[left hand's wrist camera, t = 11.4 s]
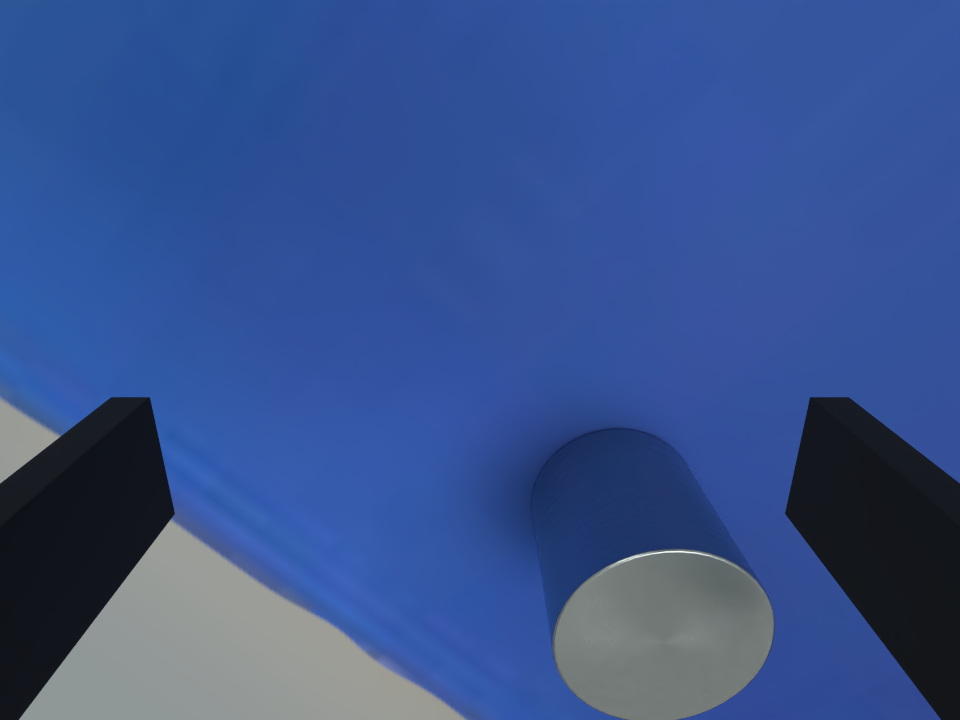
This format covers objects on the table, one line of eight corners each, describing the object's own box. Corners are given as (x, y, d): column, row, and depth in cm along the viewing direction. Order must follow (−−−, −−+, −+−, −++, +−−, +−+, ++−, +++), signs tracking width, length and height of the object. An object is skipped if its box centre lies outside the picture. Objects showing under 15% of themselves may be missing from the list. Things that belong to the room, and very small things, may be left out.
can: (642, 397, 27) (711, 510, 19) (721, 517, 29) (812, 662, 21) (499, 483, 29) (509, 620, 21) (585, 591, 31) (623, 752, 23)
